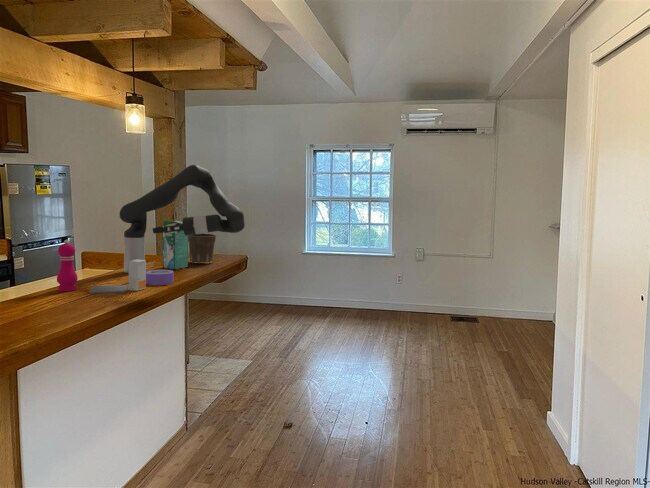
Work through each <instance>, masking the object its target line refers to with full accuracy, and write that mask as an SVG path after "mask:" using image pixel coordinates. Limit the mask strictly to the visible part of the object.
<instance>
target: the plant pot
mask: <svg viewBox="0 0 650 488" xmlns="http://www.w3.org/2000/svg"><path fill="white" fill-rule="evenodd" d="M216 238H217V235H216V234H213V233H203V234H196V235H188V251H189V262H190V261H192V262H210V261H212V262H213V257H214V249H215V243H216Z"/></svg>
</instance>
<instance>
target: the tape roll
mask: <svg viewBox="0 0 650 488" xmlns="http://www.w3.org/2000/svg"><path fill="white" fill-rule="evenodd" d="M174 271H175V270H172V269H152V270H146V285H149V286H166V285H167V286H168V285H172V284H173V283H174V282H175V277H174V274H175V273H174Z"/></svg>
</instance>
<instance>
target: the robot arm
mask: <svg viewBox="0 0 650 488" xmlns="http://www.w3.org/2000/svg"><path fill="white" fill-rule="evenodd" d="M188 186H189V187H190V186H193V187H195V188H198V189H201V190H202V191H203V192H205V193H206V194H207V195H208V198H209V202H210V204H211V205H212V208H214V210H215V211H216V212H217V213H218V214H208V215H196V216H187V217H183V218H182V221H181V222H182V224H179V223H174V224H169V225H166V226H163V225H162V226H157V227H153V228H152V233H153V234H160V233H161V234H163V233H167V232H168V233H174V232H175V233H178V232H180V230H184V234H185V235H186V236H188V235H196V234H209V233H214V232H215V233H216V232H222V233H230V234H233V233H234V234H237V233H240V232H242V231H243V229H245V216H244V213H243V211H242V210H241V209H240V207H238V206H236V205H235V204H234V203H232V202H231V201H230V199H228V197H227V196H226V195H225V193H224V192H223V191H222V190H221V189H220V187H219V185H218V184H217V182H216V181H215V179H214V177H213V175H212V174H211V172H210V171H209V170H208V169H207V168H204V167H202V166H200V165H198V164H191V165H189V166H186V167H185V168H184V169H182V171H180V172H179V173H177V174H176V175H175V176H173V177H171V178H170V179H168V180H167V181H166V182H164V183H162V184H160V185H158V186H157V187H155V188H154V189H152V190H151V191H149V192H147V193H146V194H144V195H142V196H141V197H139V198H137V199H136V200H133V201H131V202H129V203H126V204H124V205H123V206H122V207H121V209H120V210H119V219H120V220H121V221H122V222H123V223H126V224H130V227H128V228H127V229H126V230H125V231H124V233H123V237H124V238H123V240H124V241H123V248H124V251H123V253H124V256H123V258H124V259H123V268H124V269H123V270H124V271H123V272H124V273H125V274H129V261H132V260H137V259H139V260H146V259H145V256H146V255H145V254H146V253H145V250H146V249H145V245H146V244H145V234H146V232H147V220H148V212H152V211H156V210H158V209H162V208H164V207H166V206H168V205H170V204H172V203H174V201H176V199H177V197H178V196H179V193H180V191H181V190H183V189H184V188H186V187H188ZM222 217H224V218H226V219H223V218H222Z"/></svg>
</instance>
